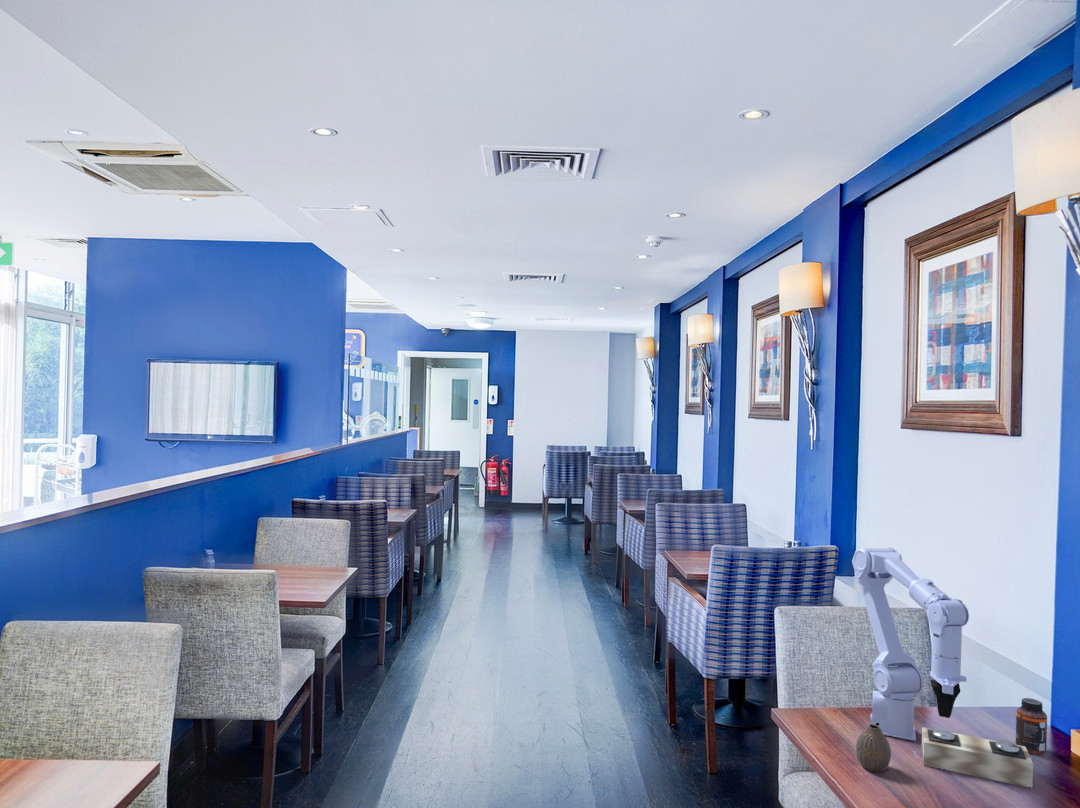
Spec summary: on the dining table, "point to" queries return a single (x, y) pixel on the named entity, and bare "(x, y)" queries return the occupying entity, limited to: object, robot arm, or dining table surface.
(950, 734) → the dowel left
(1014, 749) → the dowel right
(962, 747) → the birch bar
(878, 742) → the vase
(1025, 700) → the supplement bottle
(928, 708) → the dining table surface
